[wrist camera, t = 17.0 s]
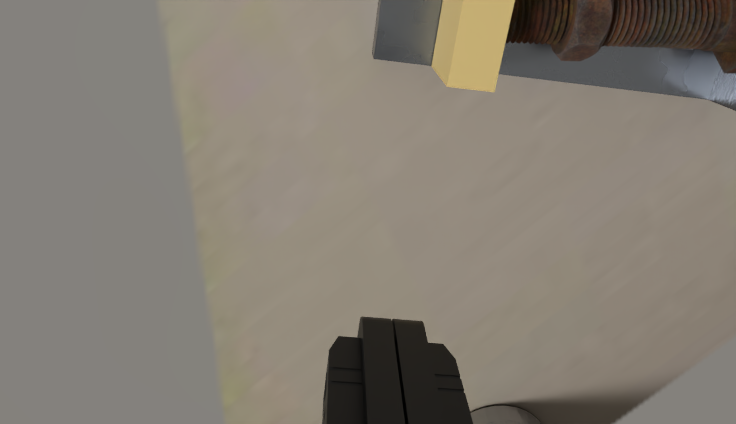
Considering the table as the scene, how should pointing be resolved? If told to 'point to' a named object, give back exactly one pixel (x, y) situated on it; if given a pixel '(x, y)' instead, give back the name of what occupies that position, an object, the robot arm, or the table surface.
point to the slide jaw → (471, 42)
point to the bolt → (627, 26)
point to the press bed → (605, 68)
